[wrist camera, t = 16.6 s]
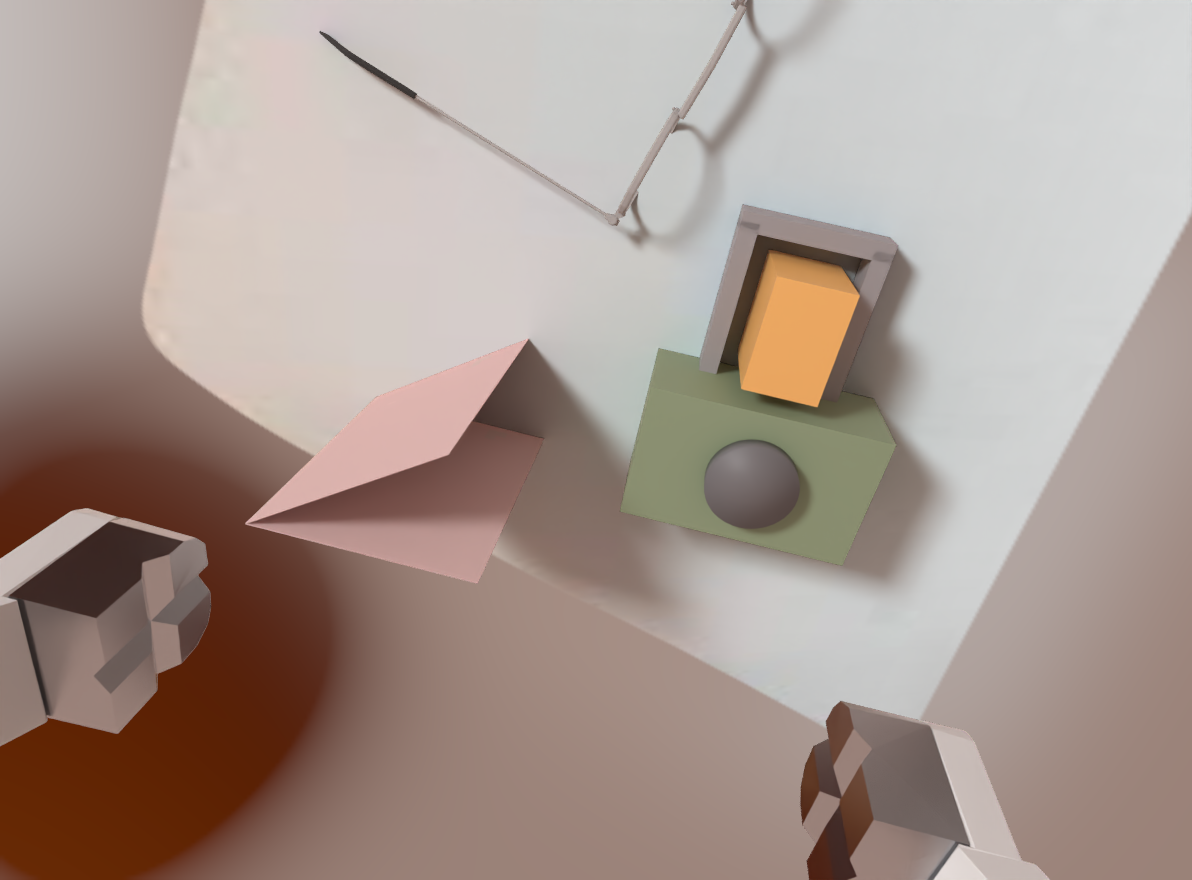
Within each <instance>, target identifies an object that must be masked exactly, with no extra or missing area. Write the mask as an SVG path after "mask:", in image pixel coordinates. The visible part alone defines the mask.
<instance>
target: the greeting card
mask: <svg viewBox="0 0 1192 880" xmlns="http://www.w3.org/2000/svg"><path fill="white" fill-rule="evenodd" d="M528 340H529V339H526V340H524V341H521V342H518V343H516V344H513V345H511V346H508V347H505V348H503V349H500V350H498V351H495V352H492V353H490V354H487V355H485V356H482V357H479V358H477V359H474V360H471V361H469V362H466V363H464V364H461V365H458V366H456V367H453V368H451V369H448V370H445V371H443V372H440V373H438V374H435V375H432V376H430V377H427V378H424V379H422V380H419V381H417V382H414V383H411V384H409V385H406V386H404V387H401V388H398V389H396V390H393V391H391V392H388V393H385V394H383V395H380V396H378V397H376V398H375V399H374V400H373V401H371V402H370V403H369V404H368V405H367V406H366V407H365V408H364V409H363V410H362V411H361V412H360V413H359V414H358V415H357V416H356V417H355V418H354V419H353V420H352V421H351V422H350V423H349V424H348V425H347V426H346V427H345V428H344V429H342V430H341V431H340V432H339V433H338V434H337V435H336V436H335V437H334V438H333V439H332V440H331V441H330V442H329V443H328V444H327V445H326V446H325V447H324V448H323V449H322V450H321V451H320V452H319V453H318V454H317V455H316V456H315V457H313V458H312V459H311V460H310V461H309V462H308V463H307V464H306V465H305V466H304V467H303V468H302V469H301V470H300V471H299V472H298V473H297V474H296V475H295V476H294V477H293V478H292V479H291V480H290V481H289V482H288V483H287V484H286V485H284V486H283V488H282V489H280V490H279V491H278V492H277V493H276V494H275V495H274V496H273V497H272V498H271V499H270V500H269V501H268V502H267V503H266V504H265V505H264V506H263V507H262V508H261V509H260V510H259V511H258V512H257V513H256V514H254V515H253V516H252V517H251V519H249V520H248V521H247V522H246V523H245V524H246V525H250V526H254V527H258V528H262V529H266V530H270V531H274V532H278V533H282V534H286V535H290V536H293V537H297V538H301V539H305V540H309V541H313V542H317V543H321V544H324V545H328V546H333V547H336V548H340V549H344V550H348V551H352V552H356V553H360V554H363V555H368V556H371V557H375V558H379V559H383V560H387V561H391V562H395V563H399V564H402V565H406V566H411V567H414V568H418V569H422V570H426V571H430V572H434V573H438V574H442V575H446V576H449V577H453V578H457V579H461V580H465V581H469V582H473V583H476V584H477V583H478V582H479V580H480V577H481V575H482V573H483V571H484V569H485V567H486V564H487V562H488V560H489V558H490V556H491V554H492V552H493V549H494V547H495V545H496V543H497V541H498V538H499V536H500V534H501V532H502V530H503V528H504V525H505V523H506V521H507V519H508V517H509V515H510V512H511V510H512V508H513V506H514V504H515V501H516V499H517V497H518V495H519V493H520V491H521V488H522V486H523V484H524V482H525V480H526V478H527V475H528V473H529V471H530V469H531V467H532V465H533V462H534V460H535V458H536V456H537V454H538V451H539V449H540V447H541V445H542V443H543V441H544V439H543V438H539V437H535V436H531V435H527V434H523V433H519V432H515V431H511V430H507V429H503V428H499V427H495V426H491V425H487V424H483V423H479V422H475V421H473V419H474V418H475V417H476V415H477V414H478V412H479V411H480V409H481V408H482V406H483V405H484V404H485V402H486V401H487V399H488V398H489V396H490V395H491V393H492V392H493V390H494V389H495V388H496V386H497V385H498V383H499V382H500V380H501V379H502V377H503V376H504V374H505V373H506V372H507V370H508V369H509V367H510V366H511V364H512V363H513V361H514V360H515V359H516V357H517V356H518V354H519V353H520V351H521V350H522V348H523V347H524V345H525V344H526V343H527V341H528Z"/></svg>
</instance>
